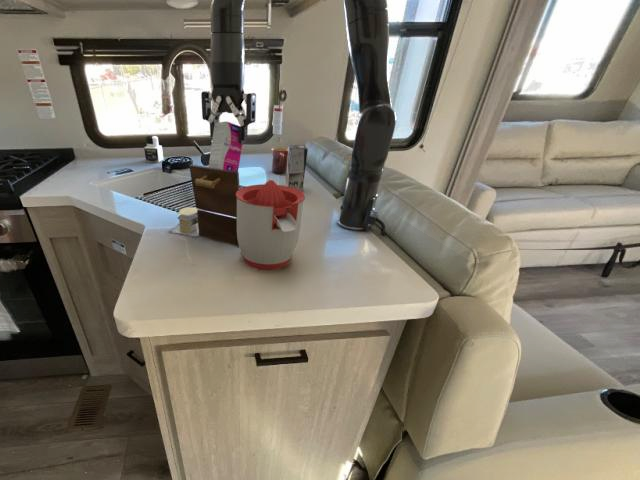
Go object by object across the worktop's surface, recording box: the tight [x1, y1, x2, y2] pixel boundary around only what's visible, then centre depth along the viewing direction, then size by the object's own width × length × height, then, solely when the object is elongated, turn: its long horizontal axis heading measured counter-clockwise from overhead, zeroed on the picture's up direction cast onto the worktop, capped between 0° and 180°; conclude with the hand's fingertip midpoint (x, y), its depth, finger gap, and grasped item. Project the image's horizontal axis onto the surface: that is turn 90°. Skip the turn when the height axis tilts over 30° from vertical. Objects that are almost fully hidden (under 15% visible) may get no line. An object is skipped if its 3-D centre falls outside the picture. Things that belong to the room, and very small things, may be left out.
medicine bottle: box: [143, 135, 164, 164], centre depth 169 cm, size 7×7×12 cm
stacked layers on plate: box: [169, 206, 199, 237], centre depth 97 cm, size 10×9×6 cm
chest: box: [197, 209, 239, 247], centre depth 94 cm, size 11×14×8 cm
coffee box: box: [284, 144, 309, 192], centre depth 129 cm, size 9×6×16 cm
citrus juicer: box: [236, 179, 306, 271], centre depth 76 cm, size 16×17×20 cm
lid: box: [188, 164, 241, 218], centre depth 82 cm, size 12×14×5 cm
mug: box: [271, 146, 289, 174], centre depth 152 cm, size 12×9×10 cm
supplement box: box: [208, 121, 244, 172], centre depth 82 cm, size 6×6×12 cm
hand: (228, 141), depth 81 cm, fingers closed on supplement box, 7 cm apart
